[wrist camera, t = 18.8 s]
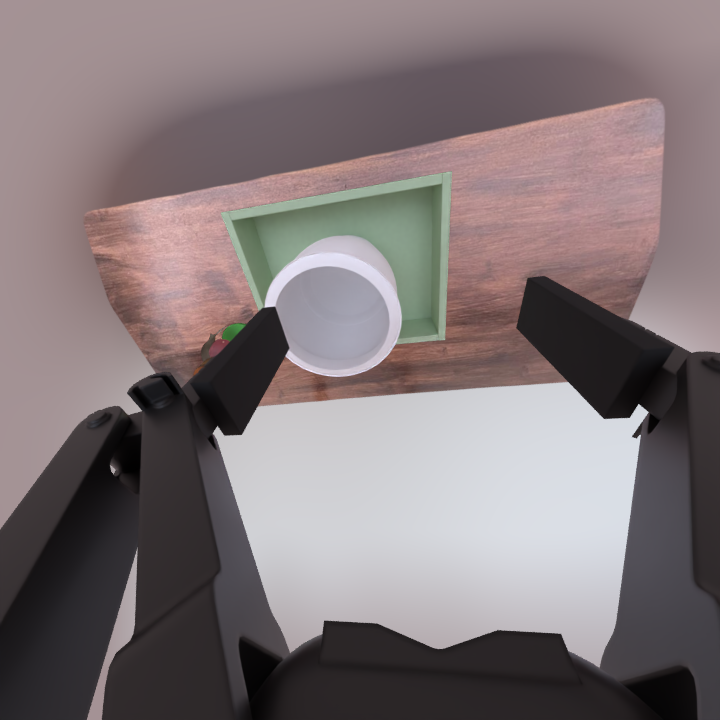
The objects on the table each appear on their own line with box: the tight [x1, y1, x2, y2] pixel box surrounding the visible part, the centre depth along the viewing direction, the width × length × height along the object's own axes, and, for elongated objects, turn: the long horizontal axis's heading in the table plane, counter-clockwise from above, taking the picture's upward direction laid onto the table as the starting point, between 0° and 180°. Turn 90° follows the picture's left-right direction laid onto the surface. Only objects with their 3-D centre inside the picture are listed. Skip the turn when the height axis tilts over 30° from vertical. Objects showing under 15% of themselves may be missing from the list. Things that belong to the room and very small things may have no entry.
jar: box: [264, 235, 402, 377], centre depth 26 cm, size 11×10×15 cm
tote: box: [221, 171, 452, 344], centre depth 30 cm, size 22×17×6 cm
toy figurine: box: [193, 323, 246, 376], centre depth 55 cm, size 12×13×15 cm
